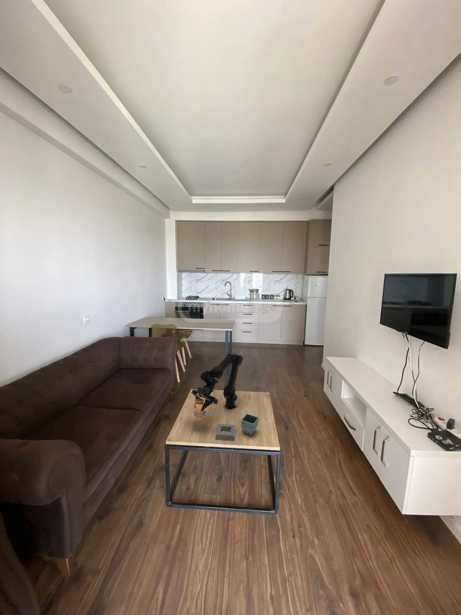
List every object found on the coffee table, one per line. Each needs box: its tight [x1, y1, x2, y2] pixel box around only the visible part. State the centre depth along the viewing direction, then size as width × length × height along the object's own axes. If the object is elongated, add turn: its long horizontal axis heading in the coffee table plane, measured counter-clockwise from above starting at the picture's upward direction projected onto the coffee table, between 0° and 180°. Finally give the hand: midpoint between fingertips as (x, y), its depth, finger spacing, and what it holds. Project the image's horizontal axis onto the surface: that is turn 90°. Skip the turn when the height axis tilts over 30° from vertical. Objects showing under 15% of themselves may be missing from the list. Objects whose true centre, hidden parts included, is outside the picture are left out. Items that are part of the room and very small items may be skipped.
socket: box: [215, 423, 236, 441], centre depth 155 cm, size 11×11×3 cm
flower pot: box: [240, 413, 260, 436], centre depth 157 cm, size 9×9×9 cm
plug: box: [193, 398, 206, 422], centre depth 159 cm, size 7×7×12 cm
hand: (198, 409), depth 158 cm, fingers closed on plug, 5 cm apart
